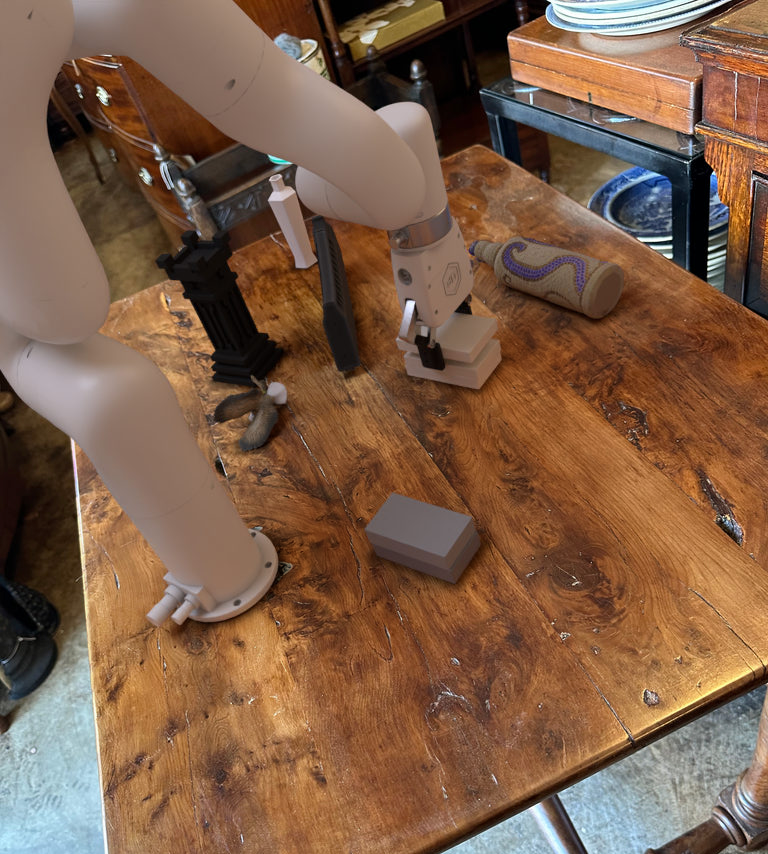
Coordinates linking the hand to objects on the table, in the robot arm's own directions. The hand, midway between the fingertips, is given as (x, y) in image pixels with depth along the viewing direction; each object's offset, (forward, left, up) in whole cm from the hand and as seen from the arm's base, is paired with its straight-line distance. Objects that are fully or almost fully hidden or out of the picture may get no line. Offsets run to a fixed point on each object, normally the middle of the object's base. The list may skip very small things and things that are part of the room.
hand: (449, 348), depth 102 cm
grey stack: (-28, -13, -3) cm, 31 cm away
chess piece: (-8, +31, -3) cm, 32 cm away
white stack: (0, 0, -3) cm, 3 cm away
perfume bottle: (+18, +40, -3) cm, 44 cm away
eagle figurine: (-18, +20, -3) cm, 27 cm away
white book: (0, 0, +1) cm, 1 cm away
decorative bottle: (+19, -4, -3) cm, 20 cm away
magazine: (+6, +23, -3) cm, 24 cm away
